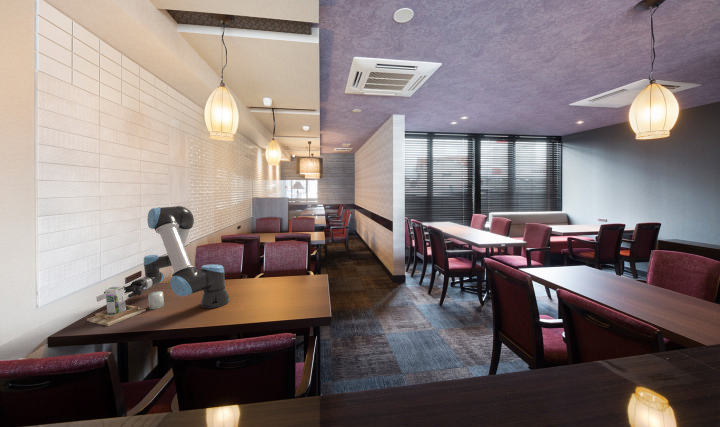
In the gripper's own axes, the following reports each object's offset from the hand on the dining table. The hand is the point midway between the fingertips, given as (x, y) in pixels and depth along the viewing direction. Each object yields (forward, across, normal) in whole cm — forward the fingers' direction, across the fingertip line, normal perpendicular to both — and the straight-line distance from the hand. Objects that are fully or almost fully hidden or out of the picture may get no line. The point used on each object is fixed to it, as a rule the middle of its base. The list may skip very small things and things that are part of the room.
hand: (109, 298), depth 149 cm
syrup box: (-3, 0, -10) cm, 10 cm away
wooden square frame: (-3, 0, -11) cm, 12 cm away
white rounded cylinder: (-14, -14, -11) cm, 23 cm away
